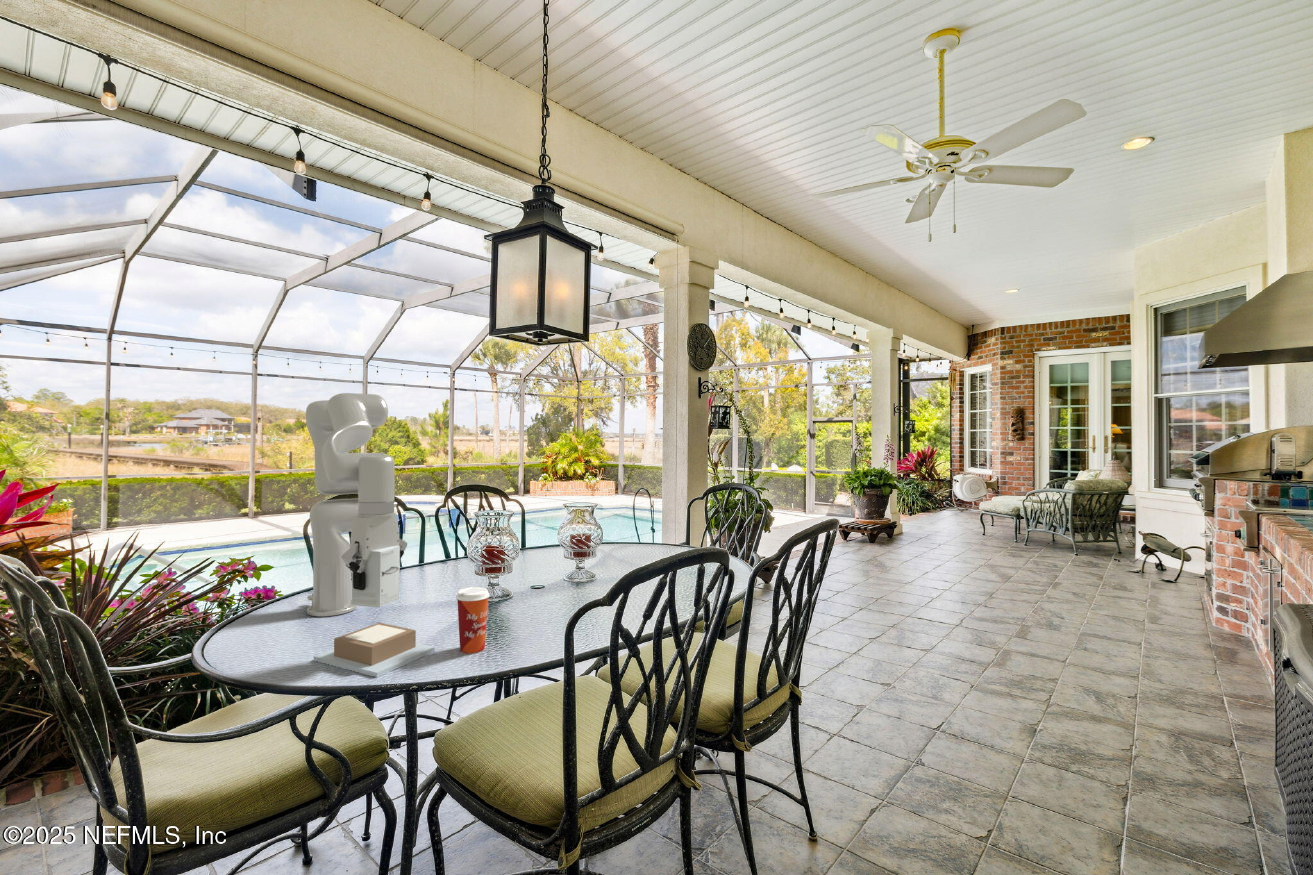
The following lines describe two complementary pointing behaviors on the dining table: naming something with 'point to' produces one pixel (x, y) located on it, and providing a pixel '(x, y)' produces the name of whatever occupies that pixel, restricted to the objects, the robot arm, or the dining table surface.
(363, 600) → the supplement box
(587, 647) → the dining table surface
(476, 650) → the paper cup
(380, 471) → the robot arm
